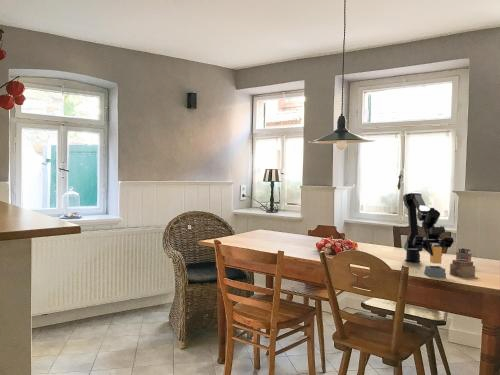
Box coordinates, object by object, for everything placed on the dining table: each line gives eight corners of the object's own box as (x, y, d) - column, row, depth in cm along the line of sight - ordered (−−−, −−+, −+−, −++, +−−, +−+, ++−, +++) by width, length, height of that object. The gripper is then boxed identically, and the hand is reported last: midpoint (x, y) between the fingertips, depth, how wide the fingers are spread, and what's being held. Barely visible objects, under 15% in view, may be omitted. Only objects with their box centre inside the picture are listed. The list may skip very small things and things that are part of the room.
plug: (429, 261, 218) (430, 244, 218) (438, 261, 218) (438, 244, 218) (432, 263, 214) (433, 245, 214) (441, 263, 214) (442, 245, 214)
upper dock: (449, 273, 221) (450, 259, 221) (461, 272, 225) (461, 258, 224) (463, 277, 214) (463, 262, 214) (474, 276, 217) (475, 262, 217)
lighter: (454, 265, 242) (455, 247, 242) (456, 264, 244) (457, 246, 244) (469, 268, 236) (470, 249, 236) (472, 267, 239) (473, 248, 238)
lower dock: (424, 273, 220) (424, 265, 220) (439, 273, 220) (440, 265, 220) (429, 276, 213) (430, 268, 213) (445, 277, 213) (446, 269, 212)
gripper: (415, 219, 220) (422, 245, 209) (453, 221, 219) (462, 246, 209) (409, 233, 228) (415, 258, 217) (446, 234, 227) (454, 259, 217)
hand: (436, 255), depth 215 cm, fingers closed on plug, 4 cm apart
